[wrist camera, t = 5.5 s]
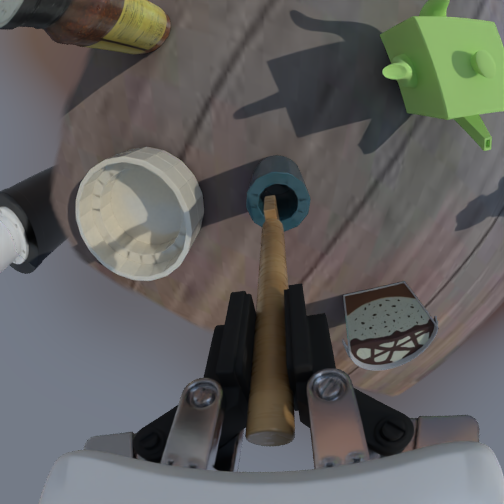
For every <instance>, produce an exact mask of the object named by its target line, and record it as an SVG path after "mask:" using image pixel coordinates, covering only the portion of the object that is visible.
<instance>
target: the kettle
mask: <svg viewBox="0 0 504 504" xmlns="http://www.w3.org/2000/svg"><path fill="white" fill-rule="evenodd" d="M449 1H450V0H428V1H427V2H426V4H425V5H424V6H423V8H422V9H421V11H420V15H419V16H414V17H411V18H409V19H407V20H405V21H403V22H401V23H400V24H398V25H396V26H394V27H392V28H391V29H389V30H387V31H385V32H384V33H382V34H380V37H381V39H382V42H383V44H384V47H385V49H386V52H387V54H388V57H389V59H390V62H391V64H390V65H388V66H386V67H385V68H384V69H383V71H382V72H383V75H384V76H385V77H386V78H389V79H395V80H397V82H398V85H399V88H400V91H401V94H402V97H403V101H404V104H405V108H406V111H407V113H410V114H417V115H423V116H429V117H435V118H441V119H446V120H449V119H454V120H455V121H456V122H457V123H458V124H459V125H460V126H461V127H462V128H463V129H464V130H465V131H466V132H467V133H468V134H469V135H470V136H471V137H472V138H473V139H474V141H475V142H476V143H477V144H478V145H479V146H480V147H481V148H482V150H483V151H486V150H490V149H491V143H492V137H491V136H490V134H489V132H488V130H487V128H486V127H485V125H484V123H483V121H482V119H481V117H480V116H479V114H485V113H492V112H500V111H504V47H503V44H502V41H501V39H500V36H499V33H498V31H497V28H496V25H495V23H494V22H490V21H483V20H476V19H467V18H456V17H446V9H447V6H448V4H449Z"/></svg>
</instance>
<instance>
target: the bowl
mask: <svg viewBox="0 0 504 504" xmlns="http://www.w3.org/2000/svg"><path fill="white" fill-rule="evenodd" d="M203 216H204V204H203V195H202V191H201V189H200V187H199V185H198V182H197V180H196V178H195V176H194V174H193V173H192V172H191V171H190V170H189V169H188V168H187V166H186V165H185V164H184V163H183V162H182V161H181V160H180V159H178V158H176V157H175V156H173V155H171V154H170V153H168V152H166V151H164V150H160V149H155V148H150V147H142V148H135V149H130V150H127V151H125V152H122V153H120V154H117V155H115V156H113V157H110V158H108V159H106V160H104V161H102V162H101V163H99V164H98V165H96V166H94V167H93V168H91V169H90V171H89V172H88V173H87V175H86V176H85V178H84V179H83V180H82V182H81V184H80V187H79V190H78V194H77V197H76V220H77V224H78V227H79V231H80V234H81V237H82V238H83V240H84V242H85V244H86V245H87V247H88V249H89V251H90V252H91V253H92V254H93V255H94V256H95V257H96V258H97V259H98V260H99V262H100V263H101V264H103V265H104V266H105V267H107V268H108V269H110V270H111V271H113V272H114V273H116V274H118V275H120V276H123V277H126V278H129V279H132V280H143V281H151V280H155V279H158V278H162V277H165V276H167V275H169V274H170V273H171V272H173V271H174V270H175V269H177V268H178V267H179V266H180V265H181V263H182V262H183V260H184V258H185V257H186V255H187V253H188V252H189V250H190V248H191V246H192V244H193V243H194V241H195V239H196V237H197V235H198V233H199V231H200V229H201V226H202V221H203Z"/></svg>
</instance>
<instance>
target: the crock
mask: <svg viewBox="0 0 504 504" xmlns="http://www.w3.org/2000/svg"><path fill="white" fill-rule="evenodd" d="M272 195H275V198H276V204H277V209H278V215H279V221H280V222H281V223H282V224H283V230H284V231H287V230H289V229H292V228H294V227H297V226H298V225H299V224H300V223H301V222H302V221H303V219H304V218H305V217H306V216H307V214H308V212H309V205H310V196H309V193H308V190H307V187H306V185H305V182H304V180H303V177H302V175H301V172H300V170H299V168H298V166H297V165H296V164H295V163H294V162H293V161H292V160H291V159H289V158H287V157H284V156H278V155H276V156H270V157H267V158H265V159H263V160H262V161H261V162H260V163H259V164H258V165H257V167H256V169H255V170H254V172H253V175H252V178H251V182H250V185H249V188H248V191H247V202H246V208H247V210H248V212H249V214H250V216H251V218H252V220H253V221H254V223H256V224H258V225H259V226H261V227H262V226H263V223H264V222H265V216H264V198H265V196H272Z"/></svg>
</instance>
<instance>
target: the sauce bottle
mask: <svg viewBox="0 0 504 504" xmlns="http://www.w3.org/2000/svg"><path fill="white" fill-rule="evenodd" d="M19 26H20V27H34V28H36V29H44V30H45V31H46V33H47V34H48V35H49V36H50V37H51V39H52V40H54V41H55V42H57V43H62V44H67V45H68V44H73V45H77V46H80V47H89V48H97V49H104V50H111V51H117V52H123V53H128V54H144V53H148V52H152V51H154V50H156V49H157V48H159V47H160V46H161V45H162V44H163V42H164V41H165V40H166V39H167V37H168V35H169V33H170V30H171V23H170V18H169V17H168V15H167V14H166V13H164V11H163V10H162V9H161V8H159V7H158V6H156V5H154V4H153V3H151V2H149V1H147V0H0V29H14V28H16V27H19Z"/></svg>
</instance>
